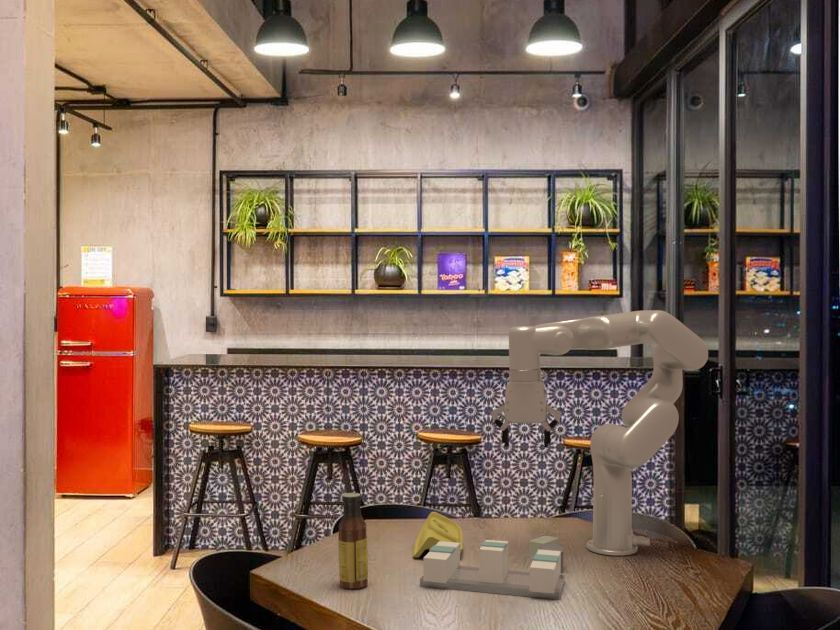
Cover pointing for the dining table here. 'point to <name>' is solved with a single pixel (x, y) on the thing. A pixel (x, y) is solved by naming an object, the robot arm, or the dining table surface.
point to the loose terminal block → (535, 543)
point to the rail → (511, 585)
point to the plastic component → (436, 533)
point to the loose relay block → (553, 548)
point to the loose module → (493, 561)
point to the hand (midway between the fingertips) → (526, 446)
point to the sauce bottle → (352, 544)
